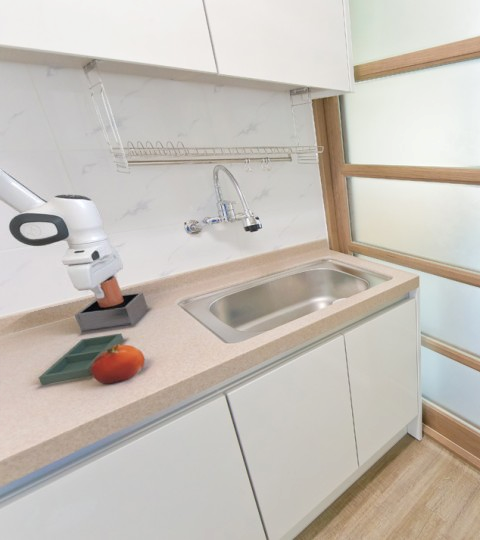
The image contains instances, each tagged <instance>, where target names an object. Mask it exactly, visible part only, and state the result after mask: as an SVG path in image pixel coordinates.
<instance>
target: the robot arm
mask: <svg viewBox="0 0 480 540" xmlns="http://www.w3.org/2000/svg"><path fill="white" fill-rule="evenodd" d="M0 201H2V202H3V203H4V204H6V205H7V206H9V207H11V208H12V209H13V210H15V211H17V212H18V214H16V215H14V217H13V218H11V219H10V222H9V224H8V229H9V232H10V234H11V236H12V237H13V238H14V239H15V240H16V241H18V242H20V243H22V244H24V245H27V246H31V247H43V246H49V245H53V244H55V243H58V242H60V241H61V242H62V241H65V242H66V243H67V246H68V249H67V250H66V252H65V254H64V255H63V256H62V257H61V262H62V264H63V265H64V266H67V268H66V269H67V274H68V276H69V279H70V281H71V283H72V285H73V287H74V288H75V289H76V290H77V291H80V292H81V291H89V290H90V291H91V292H92V293H93V294H94V293H95V294H94V296H95V295H96V296H95V299H96V298H98V299H99V298H103V297H105V296H106V294H105V291H102V289H101V288H100V287H101V285H100V284H101V283H102V282H104V281H105V280H107V279H108V278H110V277H111V276H115V277H116V279H117V278H118V277H117V273H118V272H121V271H122V270H123V268H124V263H123V261H122V259H121V257H120V254H119V253H118V251H117V250H116V249H115V248H113V246H112V245H111V241H110V239H109V236H108V235H107V233H106V232H105V230H104V222H103V219H102V216H101V214H100V211H99V210H98V207H97V206H96V204H95V202H94V201H93V200H92V199H91V198H89V197H87V196H85V195H78V194H57V195H54V196H53V197H52V198H51V199H50V200H48V201H47V200H46V199H43V198H42V197H41V196H39V195H38V194H36V192H34V191H33V190H31V189H29V188H28V187H27V186H25V185H24V184H22V183H21V182H20V181H18V180H17V179H16V178H14V177H13V176H11V175H10V174H9V173H7V172H6V171H5V170H3V169H2V168H0Z"/></svg>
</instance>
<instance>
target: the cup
mask: <svg viewBox="0 0 480 540" xmlns="http://www.w3.org/2000/svg"><path fill="white" fill-rule="evenodd" d="M100 285H101V287H100V288H101V289H102V291H105V294H106V296H105V297H103V298H99V299H98V298H96V295H95V293H94V292H93V294H94V296H95V300H96V299H97V302H98V304H99V307H111V306H115V305H118V304H120V303H122V302H123V301H124V299H123V296H122V295H123V293H122V290H121V288H120V285H119V282H118V279H117V278H116V277H115V276H111V277H110V278H108V279H107V280H105V281H104V282H102V283H101V284H100Z"/></svg>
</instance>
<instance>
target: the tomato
mask: <svg viewBox="0 0 480 540" xmlns="http://www.w3.org/2000/svg"><path fill="white" fill-rule="evenodd" d="M145 360H146V359H145V355H144V353H143V352H142V351H141V350H140V349H138V348H136V347H135V346H133V345H128V344H121V343H120V344H117V345H115V346H113V347H111V348H109V349H108V350H106V351H105V352H103V353H102V354H101V355H99V356H98V357H97V358H96V359H95V360H94V362H93V365H92V366H91V372H92V376H93V378H94V380H96V381H97V382H99V383H101V384H113V383H117V382H124V381H127V380H131V379H132V378H134V377H136V376H137V374H139V373H140V372H141V371H142V370H143V367H144V364H145Z"/></svg>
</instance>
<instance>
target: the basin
mask: <svg viewBox="0 0 480 540" xmlns="http://www.w3.org/2000/svg"><path fill="white" fill-rule="evenodd" d="M122 296H123V299H124V301H123V302H122V303H120V304H118V305H115V306H111V307H99V304H98V302H97V299H96V298H95V300H93V301H92V302H91V303H89V304H88V305H86V306H85V307H84V308H82V309H81V310H79V311H78V312H77V313H76V314H75V313H74V317H75V319H76V321H77V324H78V327H79V329H80V331H81V334H82V335H86V334H88V335H89V334H95V333H101V332H107V331H113V330H120V329H126V328H133V327H134V326H135V325H136V324H137V323H138V322H139V320H141V318H142V317H143V316H144V315H145V314H146V313H147V312H148V311H149V308H148V305H147V301H146V298H145V295H144V292H135V293H128V294H122Z"/></svg>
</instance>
